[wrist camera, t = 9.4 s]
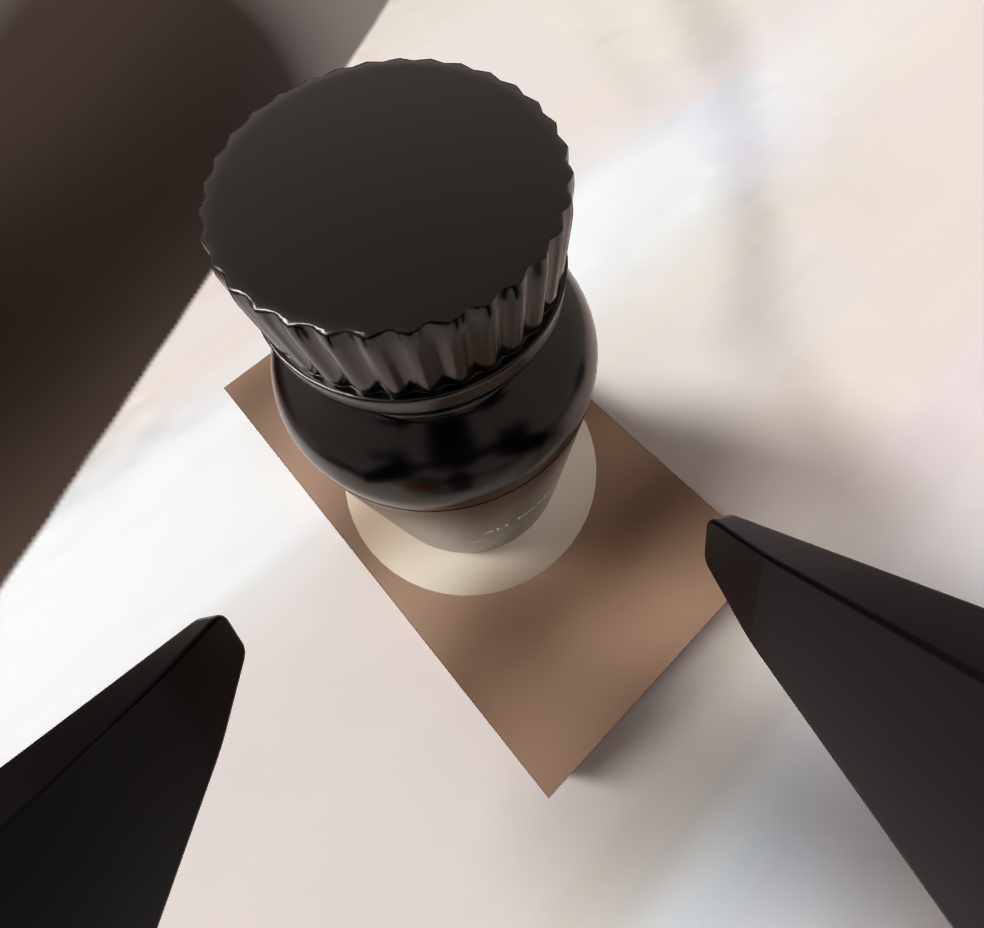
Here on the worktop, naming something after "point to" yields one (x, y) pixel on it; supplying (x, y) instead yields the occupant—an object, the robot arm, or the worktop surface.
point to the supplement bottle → (413, 290)
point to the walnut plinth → (541, 587)
